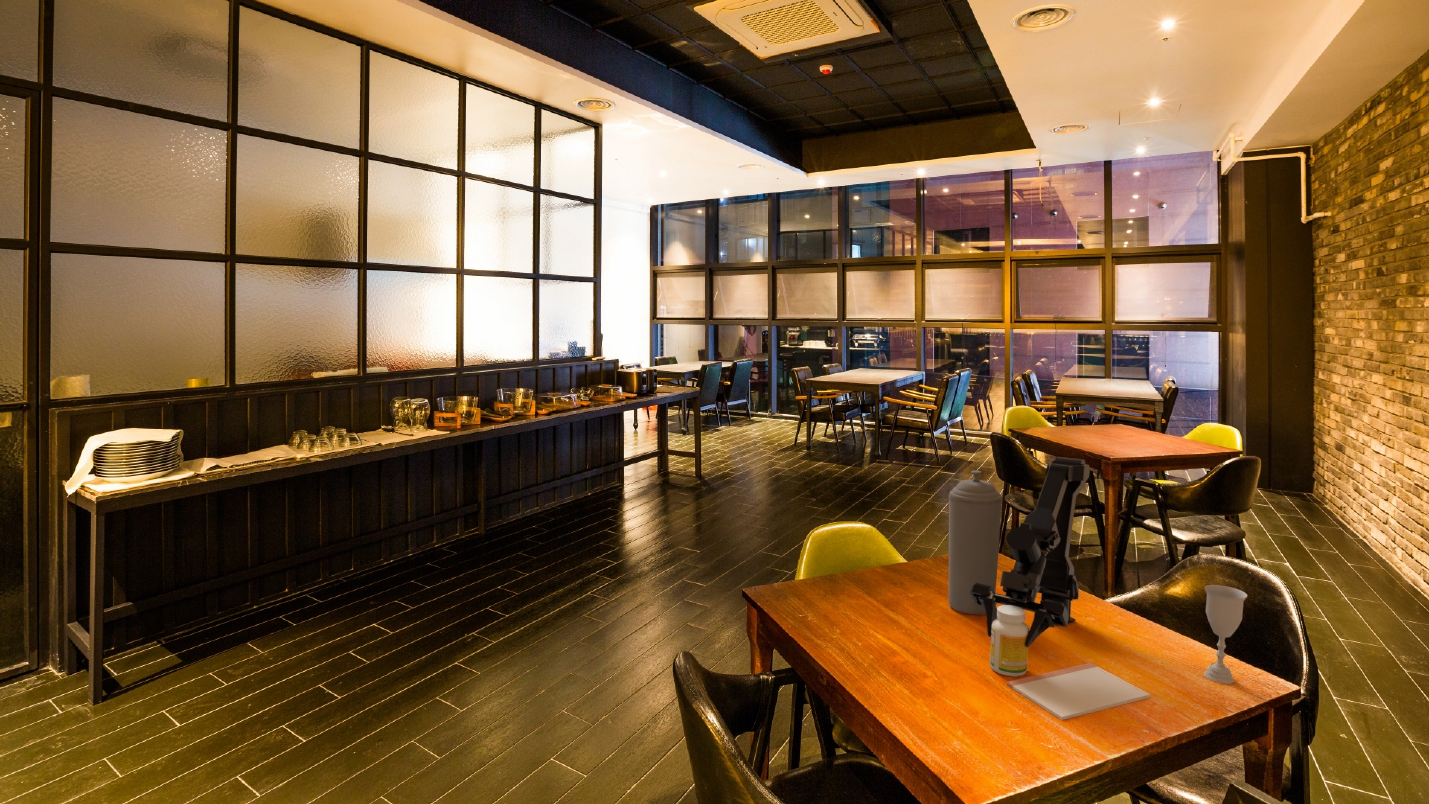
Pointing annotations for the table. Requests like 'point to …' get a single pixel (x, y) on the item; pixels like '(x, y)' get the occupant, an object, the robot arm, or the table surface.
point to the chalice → (1223, 624)
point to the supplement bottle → (1009, 642)
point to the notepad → (1077, 690)
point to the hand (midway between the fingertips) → (1007, 641)
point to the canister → (973, 540)
